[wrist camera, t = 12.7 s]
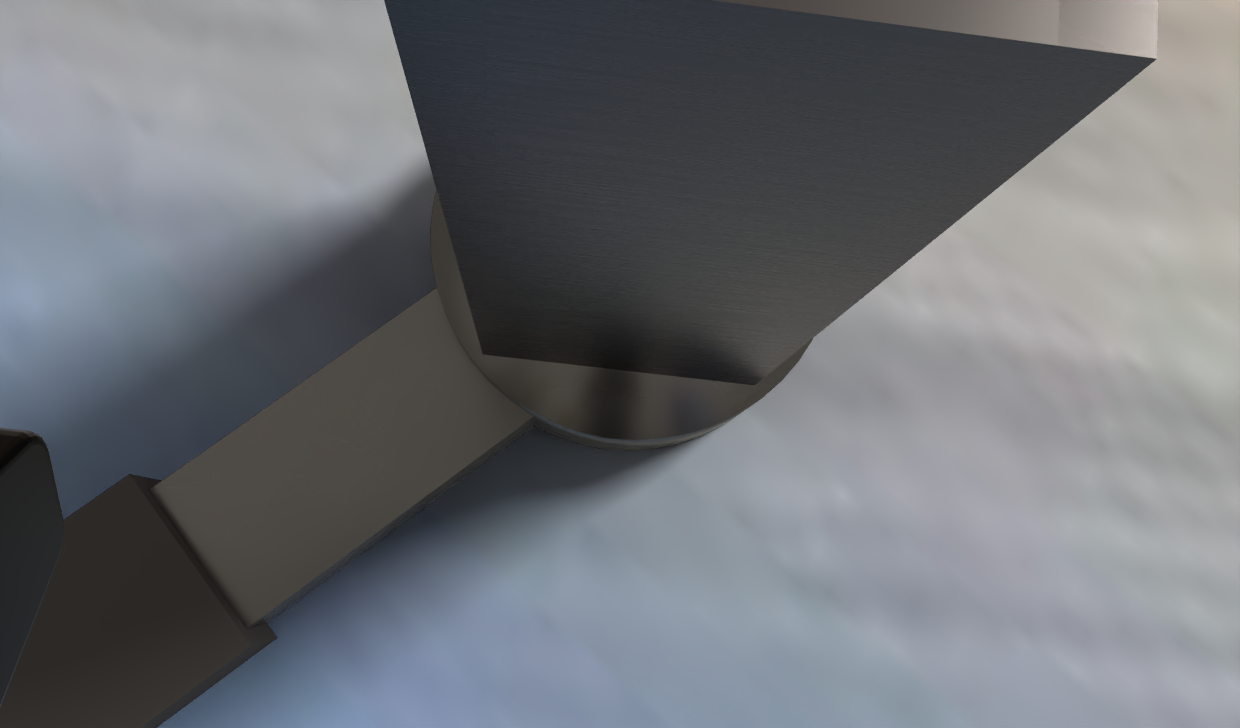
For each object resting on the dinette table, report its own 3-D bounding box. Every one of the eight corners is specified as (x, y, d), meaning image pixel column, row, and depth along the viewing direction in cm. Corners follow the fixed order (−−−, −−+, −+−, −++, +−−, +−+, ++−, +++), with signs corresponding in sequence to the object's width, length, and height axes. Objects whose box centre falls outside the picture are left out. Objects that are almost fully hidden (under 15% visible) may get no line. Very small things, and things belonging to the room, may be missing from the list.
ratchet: (-75, 1037, 18) (-303, 1217, 13) (-303, 684, 19) (-603, 728, 14) (882, 304, 21) (985, 229, 16) (660, 25, 22) (695, -128, 17)
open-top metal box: (754, 385, 19) (1157, 59, 7) (482, 354, 19) (371, -46, 6) (775, 129, 20) (1168, -589, 7) (515, 96, 19) (473, -699, 7)
